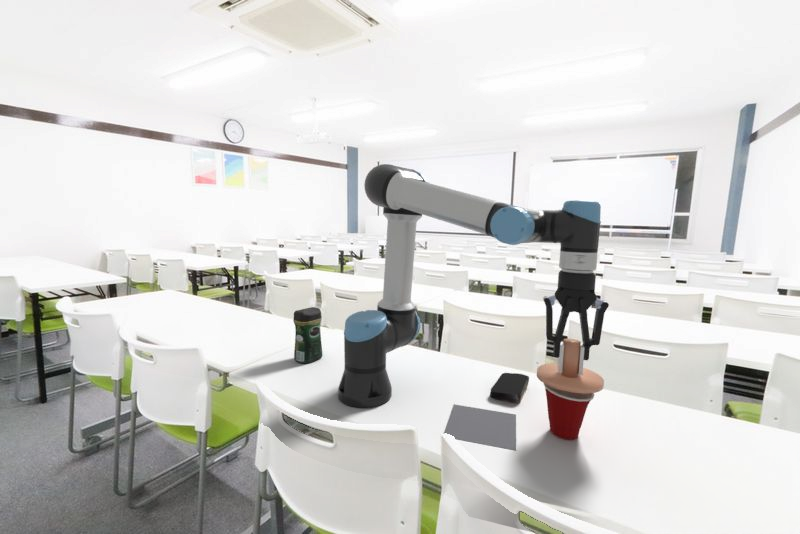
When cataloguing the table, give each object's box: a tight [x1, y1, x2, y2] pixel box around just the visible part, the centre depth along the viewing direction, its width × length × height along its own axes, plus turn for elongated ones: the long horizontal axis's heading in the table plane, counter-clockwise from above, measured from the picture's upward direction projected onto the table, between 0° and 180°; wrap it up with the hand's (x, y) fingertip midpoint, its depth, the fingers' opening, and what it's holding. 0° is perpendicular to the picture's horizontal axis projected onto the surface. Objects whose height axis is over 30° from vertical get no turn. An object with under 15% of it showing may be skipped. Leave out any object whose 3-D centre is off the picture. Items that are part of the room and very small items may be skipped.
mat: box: [443, 404, 517, 452], centre depth 89 cm, size 16×16×1 cm
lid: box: [536, 338, 605, 394], centre depth 84 cm, size 14×14×9 cm
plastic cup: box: [543, 383, 595, 441], centre depth 85 cm, size 11×11×12 cm
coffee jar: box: [292, 306, 323, 364], centre depth 130 cm, size 10×8×19 cm
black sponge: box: [489, 372, 530, 404], centre depth 108 cm, size 16×8×4 cm, turn 151°
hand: (569, 371), depth 84 cm, fingers closed on lid, 3 cm apart
